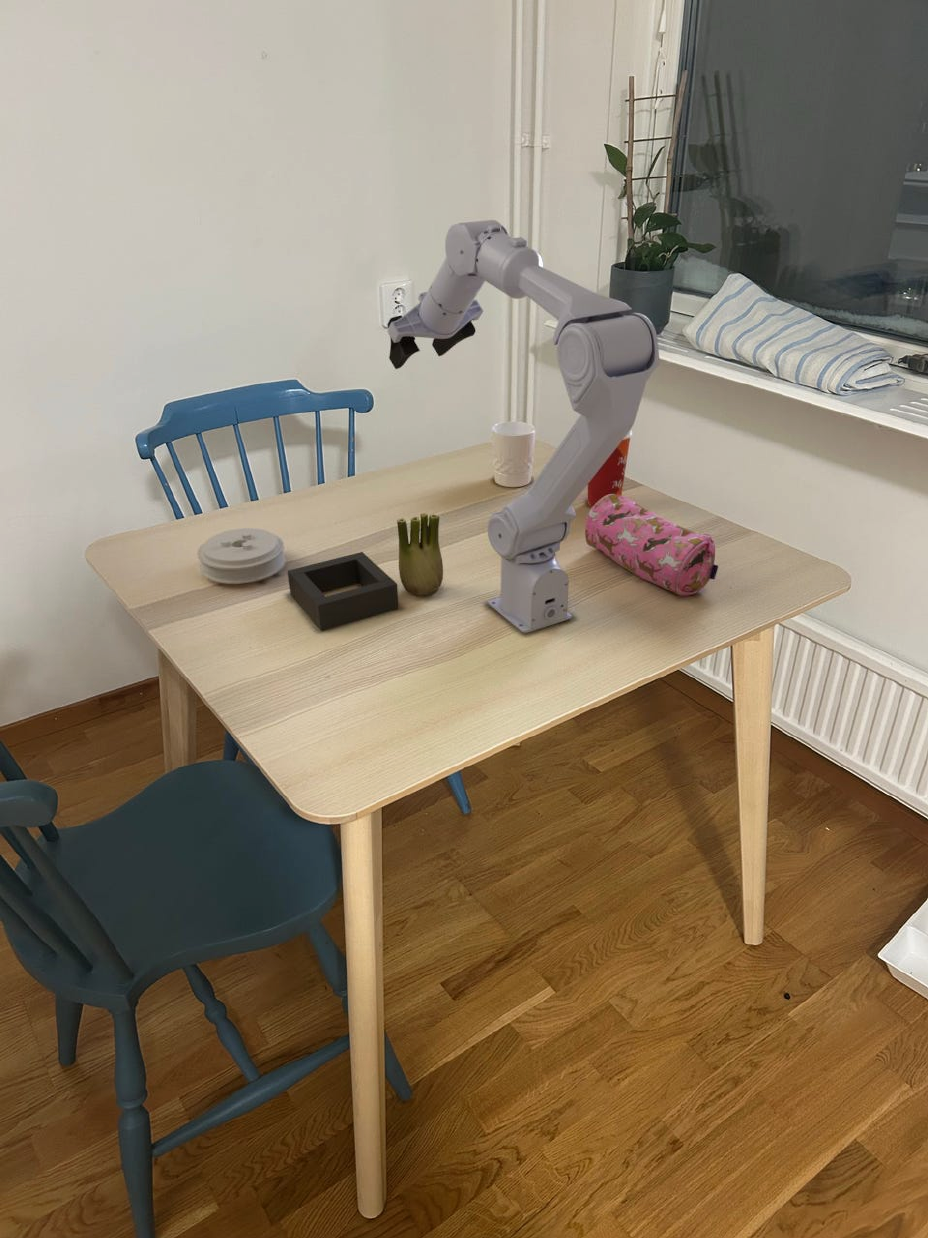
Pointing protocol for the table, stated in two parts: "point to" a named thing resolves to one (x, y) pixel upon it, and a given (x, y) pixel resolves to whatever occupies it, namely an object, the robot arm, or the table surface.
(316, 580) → the holder
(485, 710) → the table surface
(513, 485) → the white cup
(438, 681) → the table surface
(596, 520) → the pencil case
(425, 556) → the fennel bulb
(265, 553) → the lid
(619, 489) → the paper cup
